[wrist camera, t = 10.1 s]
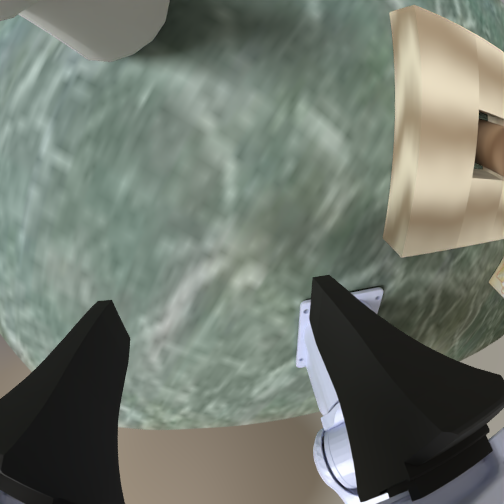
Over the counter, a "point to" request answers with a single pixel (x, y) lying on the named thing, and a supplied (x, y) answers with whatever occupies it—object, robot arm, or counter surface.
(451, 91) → the socket block
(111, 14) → the salt shaker
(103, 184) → the counter surface
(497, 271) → the coffeecake box
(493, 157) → the peg
